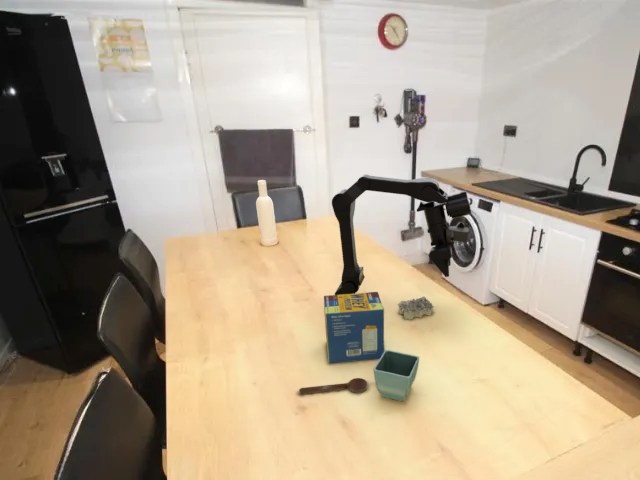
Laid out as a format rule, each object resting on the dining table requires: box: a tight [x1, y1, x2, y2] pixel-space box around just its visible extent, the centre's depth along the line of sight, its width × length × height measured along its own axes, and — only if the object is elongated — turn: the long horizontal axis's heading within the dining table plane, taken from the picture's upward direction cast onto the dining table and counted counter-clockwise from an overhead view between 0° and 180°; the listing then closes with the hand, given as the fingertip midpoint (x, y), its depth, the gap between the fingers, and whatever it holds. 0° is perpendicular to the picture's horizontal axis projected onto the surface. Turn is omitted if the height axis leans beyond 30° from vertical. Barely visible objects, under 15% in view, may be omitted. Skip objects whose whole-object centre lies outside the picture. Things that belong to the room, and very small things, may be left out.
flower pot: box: [373, 349, 420, 402], centre depth 97 cm, size 9×9×9 cm
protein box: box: [323, 291, 385, 364], centre depth 112 cm, size 10×15×16 cm
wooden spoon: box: [298, 377, 368, 395], centre depth 100 cm, size 16×5×1 cm, turn 100°
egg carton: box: [397, 296, 435, 320], centre depth 134 cm, size 11×8×4 cm
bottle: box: [255, 179, 279, 247], centre depth 192 cm, size 8×8×30 cm
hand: (448, 270), depth 125 cm, fingers open, 9 cm apart
